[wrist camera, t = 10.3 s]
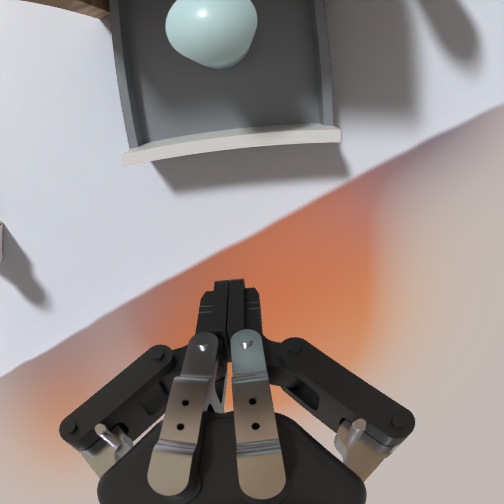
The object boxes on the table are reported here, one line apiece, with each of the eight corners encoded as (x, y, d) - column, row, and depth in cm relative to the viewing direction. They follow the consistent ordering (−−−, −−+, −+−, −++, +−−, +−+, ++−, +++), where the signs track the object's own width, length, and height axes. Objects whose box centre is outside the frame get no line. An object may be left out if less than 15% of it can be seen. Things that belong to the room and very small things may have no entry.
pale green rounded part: (248, 15, 18) (254, -18, 10) (251, 67, 20) (259, 58, 13) (188, 21, 18) (163, -8, 10) (192, 72, 20) (168, 67, 13)
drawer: (309, -36, 15) (321, -54, 11) (325, 132, 24) (340, 142, 21) (119, -9, 16) (98, -21, 12) (141, 152, 25) (123, 166, 21)
